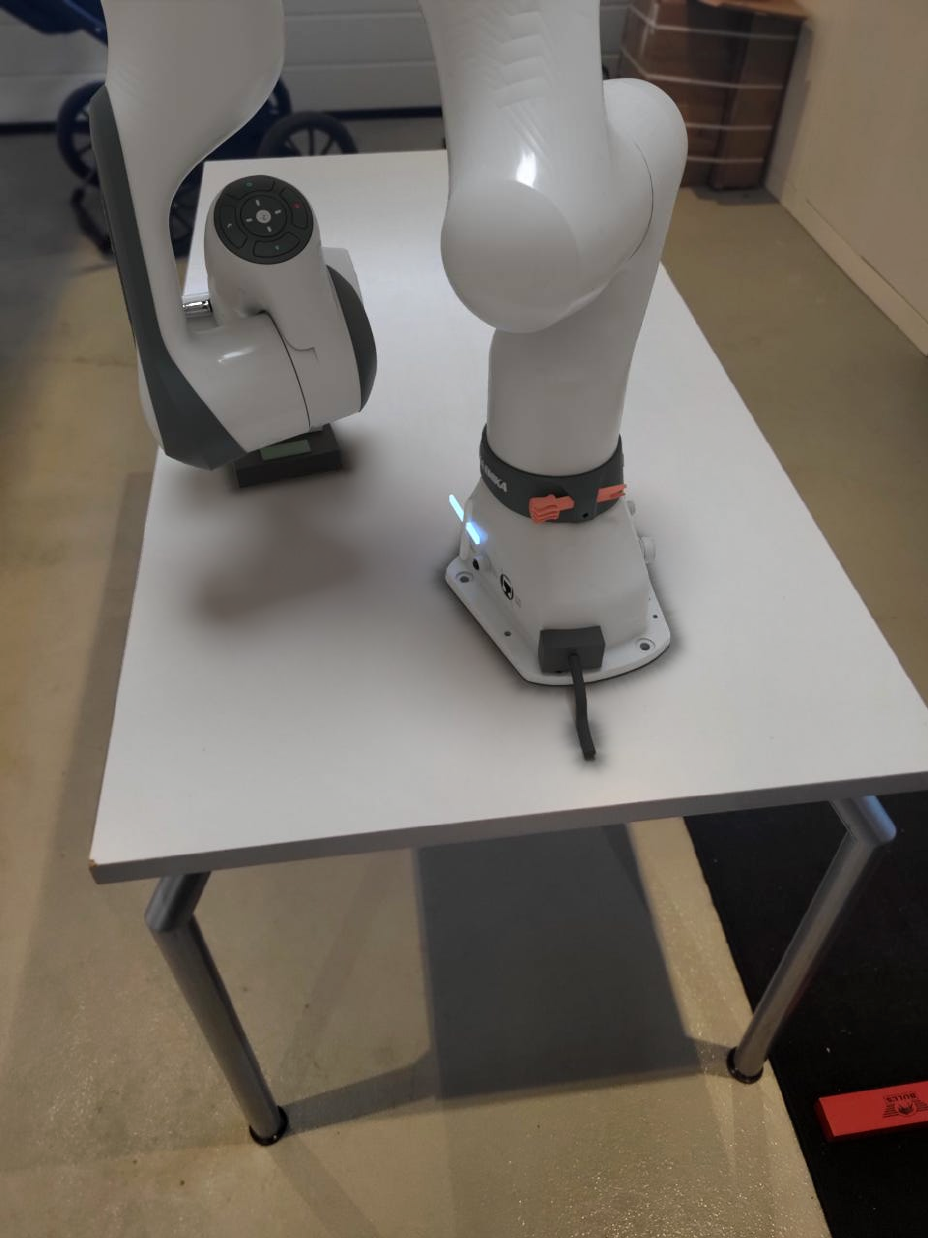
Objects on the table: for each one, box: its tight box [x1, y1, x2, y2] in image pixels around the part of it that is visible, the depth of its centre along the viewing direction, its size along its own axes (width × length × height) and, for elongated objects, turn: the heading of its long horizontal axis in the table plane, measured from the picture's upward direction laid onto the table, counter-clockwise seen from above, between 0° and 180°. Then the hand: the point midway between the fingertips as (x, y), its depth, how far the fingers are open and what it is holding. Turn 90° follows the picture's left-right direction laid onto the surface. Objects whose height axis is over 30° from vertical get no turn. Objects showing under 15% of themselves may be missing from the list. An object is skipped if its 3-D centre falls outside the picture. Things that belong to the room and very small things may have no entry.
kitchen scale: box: [231, 422, 343, 489], centre depth 96 cm, size 14×11×3 cm
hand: (259, 343), depth 91 cm, fingers closed on soda can, 5 cm apart
